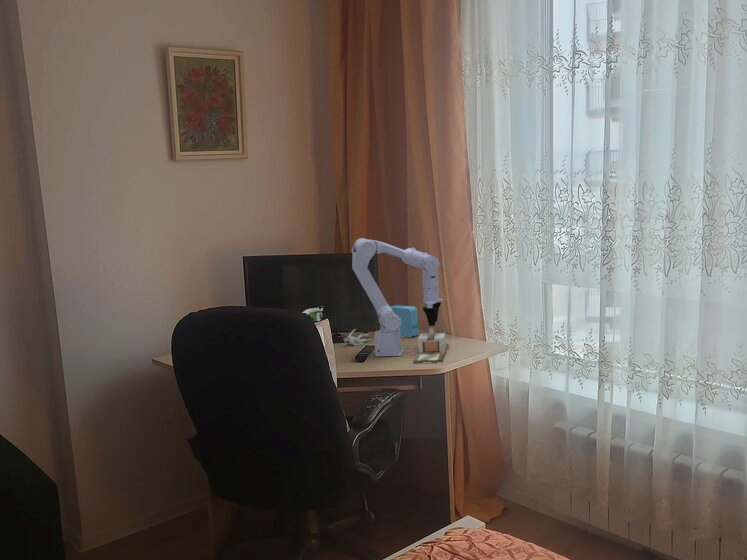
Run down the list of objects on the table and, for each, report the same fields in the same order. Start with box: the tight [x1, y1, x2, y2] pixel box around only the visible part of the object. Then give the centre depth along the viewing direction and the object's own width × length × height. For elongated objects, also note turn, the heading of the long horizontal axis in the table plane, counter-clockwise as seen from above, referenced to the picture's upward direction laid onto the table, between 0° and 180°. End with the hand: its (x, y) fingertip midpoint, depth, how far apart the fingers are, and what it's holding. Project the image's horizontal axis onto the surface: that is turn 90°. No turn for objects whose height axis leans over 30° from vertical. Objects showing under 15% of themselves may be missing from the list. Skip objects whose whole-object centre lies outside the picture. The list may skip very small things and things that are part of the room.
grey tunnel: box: [417, 332, 447, 353], centre depth 277 cm, size 9×8×5 cm
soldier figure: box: [343, 328, 373, 347], centre depth 299 cm, size 8×5×12 cm
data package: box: [390, 304, 420, 338], centre depth 307 cm, size 12×4×12 cm, turn 48°
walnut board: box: [412, 343, 449, 364], centre depth 274 cm, size 10×24×1 cm, turn 169°
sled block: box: [424, 327, 439, 351], centre depth 276 cm, size 5×6×8 cm
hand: (433, 323), depth 282 cm, fingers open, 6 cm apart
